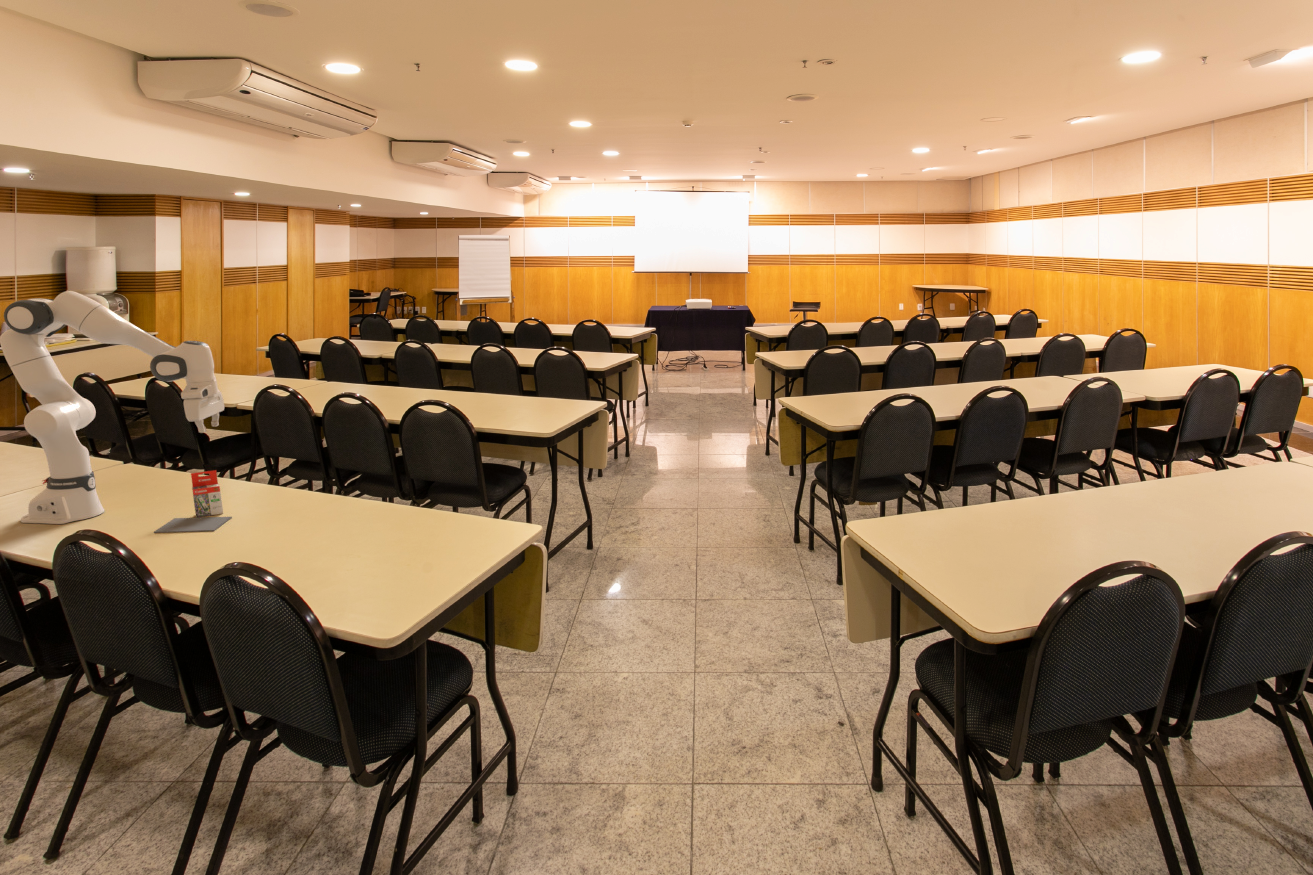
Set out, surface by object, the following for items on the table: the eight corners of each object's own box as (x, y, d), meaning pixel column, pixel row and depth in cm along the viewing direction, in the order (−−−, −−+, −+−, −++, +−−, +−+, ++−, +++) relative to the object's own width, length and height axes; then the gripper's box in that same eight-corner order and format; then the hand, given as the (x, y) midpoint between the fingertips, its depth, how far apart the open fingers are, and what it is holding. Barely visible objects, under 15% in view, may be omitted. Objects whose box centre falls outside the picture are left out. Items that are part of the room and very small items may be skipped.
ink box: (223, 513, 259) (218, 472, 255) (196, 517, 254) (190, 475, 251) (222, 510, 262) (217, 469, 258) (195, 514, 257) (189, 473, 254)
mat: (153, 532, 240) (153, 531, 240) (174, 519, 253) (174, 518, 253) (214, 531, 242) (214, 529, 242) (231, 517, 255) (231, 516, 255)
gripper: (207, 384, 267) (213, 423, 270) (177, 394, 247) (184, 436, 250) (226, 383, 267) (232, 422, 270) (198, 393, 248) (205, 435, 251)
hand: (209, 429), depth 260 cm, fingers open, 8 cm apart
